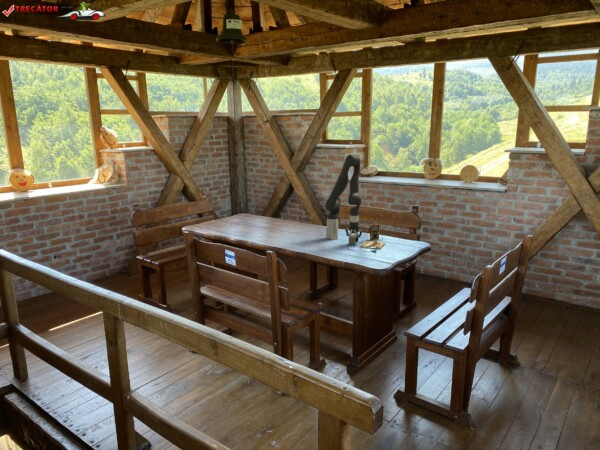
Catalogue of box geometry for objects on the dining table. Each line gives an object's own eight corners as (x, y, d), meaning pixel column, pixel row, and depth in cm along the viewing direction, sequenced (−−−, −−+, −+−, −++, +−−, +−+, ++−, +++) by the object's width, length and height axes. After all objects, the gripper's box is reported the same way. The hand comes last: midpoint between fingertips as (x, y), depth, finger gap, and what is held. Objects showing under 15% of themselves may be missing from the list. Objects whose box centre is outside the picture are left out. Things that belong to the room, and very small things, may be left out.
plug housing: (348, 243, 352) (348, 237, 350) (352, 240, 361) (352, 234, 360) (354, 244, 350) (354, 238, 349) (358, 241, 359) (358, 235, 358)
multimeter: (369, 242, 362) (370, 218, 358) (365, 239, 371) (366, 216, 367) (386, 241, 364) (387, 217, 360) (382, 238, 374) (382, 215, 370)
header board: (360, 247, 346) (360, 241, 345) (365, 243, 360) (365, 236, 359) (380, 249, 340) (380, 242, 339) (385, 244, 354) (385, 238, 353)
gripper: (344, 221, 351) (343, 241, 355) (361, 222, 345) (360, 243, 349) (347, 219, 358) (346, 239, 361) (364, 220, 352) (363, 241, 356)
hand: (353, 241), depth 355 cm, fingers closed on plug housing, 4 cm apart
